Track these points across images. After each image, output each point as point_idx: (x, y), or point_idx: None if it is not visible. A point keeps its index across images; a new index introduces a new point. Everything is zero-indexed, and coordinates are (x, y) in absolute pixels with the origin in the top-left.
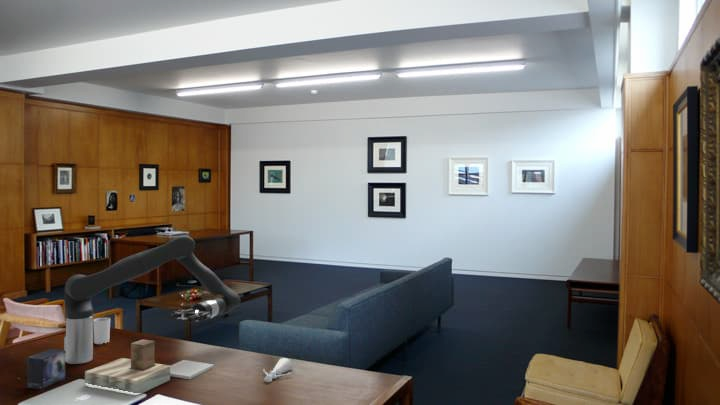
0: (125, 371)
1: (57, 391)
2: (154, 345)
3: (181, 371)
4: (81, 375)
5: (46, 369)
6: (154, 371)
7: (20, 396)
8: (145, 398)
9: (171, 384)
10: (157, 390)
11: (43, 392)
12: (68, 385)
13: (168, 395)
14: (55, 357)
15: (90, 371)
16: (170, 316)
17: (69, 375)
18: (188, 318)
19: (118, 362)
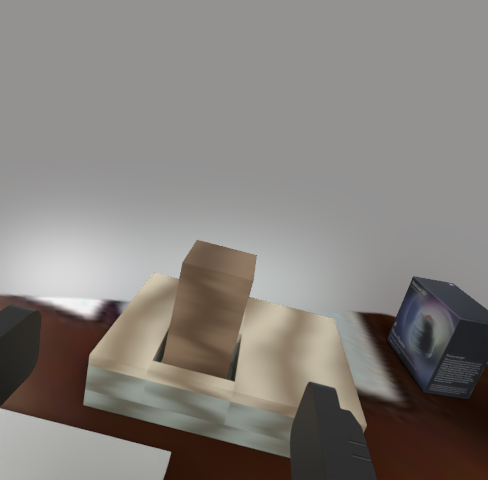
0: None
1: (346, 333)
2: (179, 280)
3: (39, 461)
4: (422, 420)
5: (406, 307)
6: (132, 313)
7: (380, 318)
8: (115, 300)
9: (64, 368)
10: (101, 332)
11: (366, 330)
12: (364, 358)
13: (54, 308)
14: (430, 303)
15: (322, 319)
16: (310, 385)
17: (450, 417)
18: (26, 311)
19: (323, 378)
